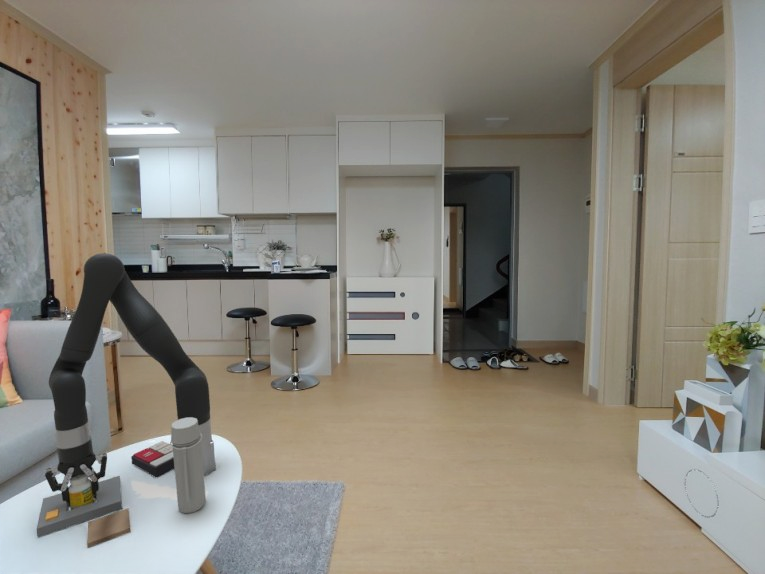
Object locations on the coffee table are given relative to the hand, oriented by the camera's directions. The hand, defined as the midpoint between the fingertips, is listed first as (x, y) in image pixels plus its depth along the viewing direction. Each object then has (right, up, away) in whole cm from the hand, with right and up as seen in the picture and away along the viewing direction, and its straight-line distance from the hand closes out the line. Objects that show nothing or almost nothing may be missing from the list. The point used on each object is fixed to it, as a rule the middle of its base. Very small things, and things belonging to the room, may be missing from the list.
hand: (81, 496), depth 111 cm
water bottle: (+31, -3, 0) cm, 31 cm away
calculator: (+10, -1, +22) cm, 24 cm away
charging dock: (0, -3, +1) cm, 3 cm away
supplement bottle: (0, -4, +1) cm, 4 cm away
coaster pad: (+13, -4, -7) cm, 16 cm away
